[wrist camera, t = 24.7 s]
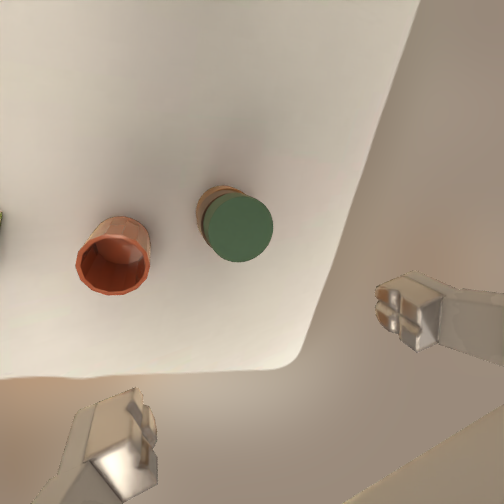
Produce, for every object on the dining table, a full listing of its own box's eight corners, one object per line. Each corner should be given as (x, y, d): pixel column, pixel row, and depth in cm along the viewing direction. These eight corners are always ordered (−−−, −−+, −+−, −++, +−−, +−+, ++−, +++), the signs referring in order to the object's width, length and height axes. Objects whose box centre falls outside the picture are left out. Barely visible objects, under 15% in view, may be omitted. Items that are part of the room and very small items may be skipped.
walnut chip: (215, 178, 27) (221, 180, 25) (262, 207, 30) (272, 212, 28) (186, 230, 28) (189, 237, 26) (234, 254, 31) (241, 263, 28)
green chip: (223, 180, 25) (231, 182, 23) (274, 212, 28) (285, 217, 25) (191, 236, 26) (195, 245, 23) (243, 262, 28) (251, 272, 26)
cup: (106, 206, 27) (93, 222, 21) (159, 231, 30) (161, 252, 23) (83, 252, 28) (63, 281, 22) (136, 273, 30) (132, 303, 24)
